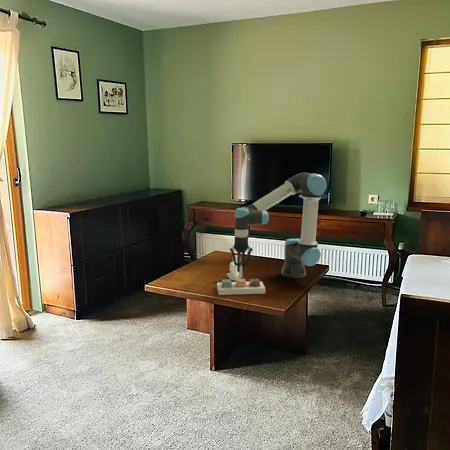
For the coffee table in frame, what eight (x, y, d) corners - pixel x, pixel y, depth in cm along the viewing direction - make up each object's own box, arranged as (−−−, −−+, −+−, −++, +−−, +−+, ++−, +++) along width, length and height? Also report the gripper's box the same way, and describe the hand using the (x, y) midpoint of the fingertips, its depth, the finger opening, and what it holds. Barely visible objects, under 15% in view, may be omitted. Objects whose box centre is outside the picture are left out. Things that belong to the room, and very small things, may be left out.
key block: (261, 286, 259) (261, 281, 258) (265, 293, 247) (265, 288, 246) (217, 287, 256) (217, 282, 256) (218, 294, 245) (218, 289, 244)
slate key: (230, 286, 253) (230, 279, 252) (231, 289, 248) (231, 282, 248) (221, 286, 253) (221, 279, 252) (222, 289, 248) (222, 282, 247)
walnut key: (258, 285, 255) (258, 278, 254) (259, 288, 250) (259, 281, 249) (249, 285, 254) (249, 279, 253) (251, 288, 249) (251, 281, 249)
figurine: (225, 280, 269) (225, 256, 266) (234, 276, 277) (234, 253, 274) (235, 282, 265) (235, 258, 262) (244, 278, 273) (244, 254, 270)
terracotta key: (244, 285, 254) (244, 278, 253) (245, 288, 249) (245, 281, 248) (235, 285, 253) (235, 279, 253) (236, 288, 249) (236, 281, 248)
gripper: (251, 234, 250) (251, 274, 254) (228, 234, 248) (228, 275, 253) (254, 237, 242) (253, 278, 247) (230, 237, 241) (229, 279, 246)
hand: (240, 277), depth 250 cm, fingers closed
